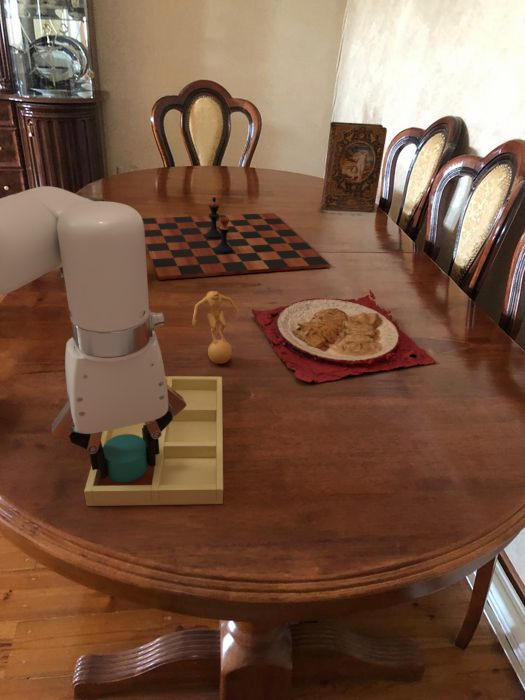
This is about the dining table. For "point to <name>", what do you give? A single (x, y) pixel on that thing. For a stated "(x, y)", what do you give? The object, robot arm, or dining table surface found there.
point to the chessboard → (225, 245)
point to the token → (125, 457)
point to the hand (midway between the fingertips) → (126, 463)
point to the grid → (174, 454)
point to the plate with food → (338, 338)
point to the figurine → (218, 348)
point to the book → (353, 166)
